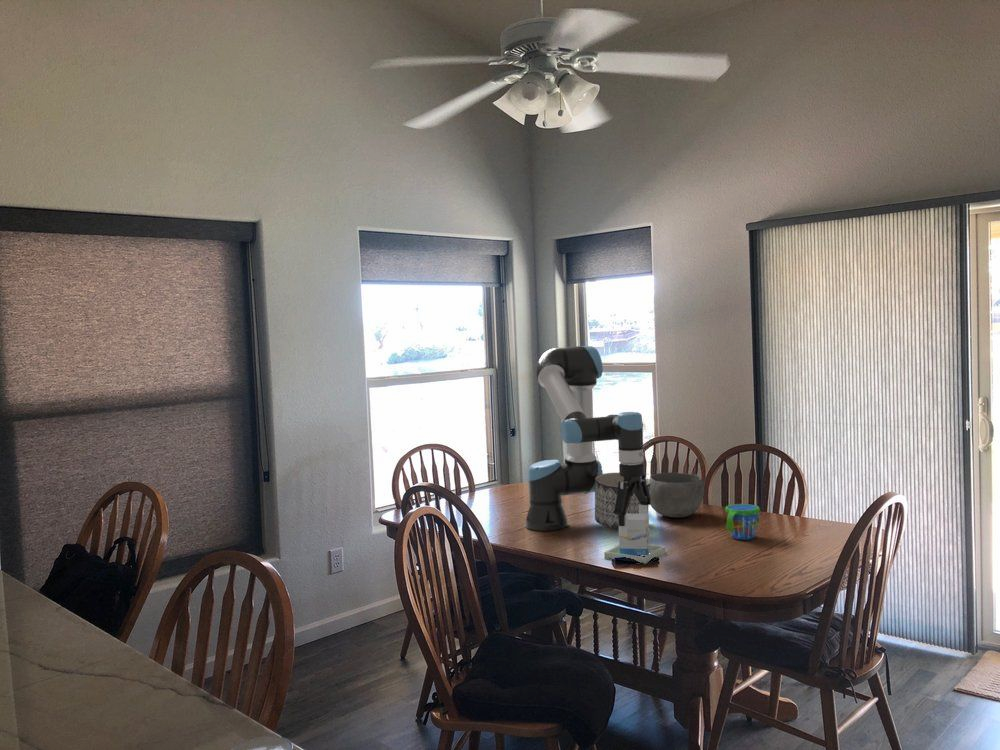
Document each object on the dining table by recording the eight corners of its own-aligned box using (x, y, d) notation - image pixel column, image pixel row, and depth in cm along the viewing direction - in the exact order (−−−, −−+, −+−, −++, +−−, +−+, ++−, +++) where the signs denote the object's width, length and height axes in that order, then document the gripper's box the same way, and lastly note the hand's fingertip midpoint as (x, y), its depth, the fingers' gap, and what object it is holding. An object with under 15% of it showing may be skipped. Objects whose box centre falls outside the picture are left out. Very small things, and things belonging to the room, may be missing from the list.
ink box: (647, 557, 250) (645, 519, 249) (619, 556, 252) (617, 519, 252) (650, 550, 258) (649, 513, 257) (623, 549, 261) (621, 512, 260)
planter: (633, 537, 280) (635, 490, 277) (583, 526, 290) (585, 481, 288) (657, 523, 295) (659, 478, 293) (608, 512, 306) (610, 469, 303)
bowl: (642, 521, 298) (640, 480, 297) (654, 509, 317) (652, 470, 316) (700, 524, 290) (698, 481, 289) (708, 511, 309) (707, 471, 308)
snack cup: (746, 530, 278) (745, 500, 278) (772, 536, 269) (771, 505, 269) (714, 539, 269) (713, 508, 269) (740, 545, 261) (739, 513, 260)
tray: (604, 558, 253) (604, 552, 253) (625, 547, 265) (625, 541, 265) (646, 564, 245) (645, 557, 245) (665, 552, 256) (665, 546, 256)
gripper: (623, 470, 241) (626, 542, 243) (660, 456, 261) (662, 522, 263) (600, 469, 246) (603, 539, 247) (638, 455, 266) (640, 520, 267)
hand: (633, 530), depth 255 cm, fingers open, 13 cm apart
